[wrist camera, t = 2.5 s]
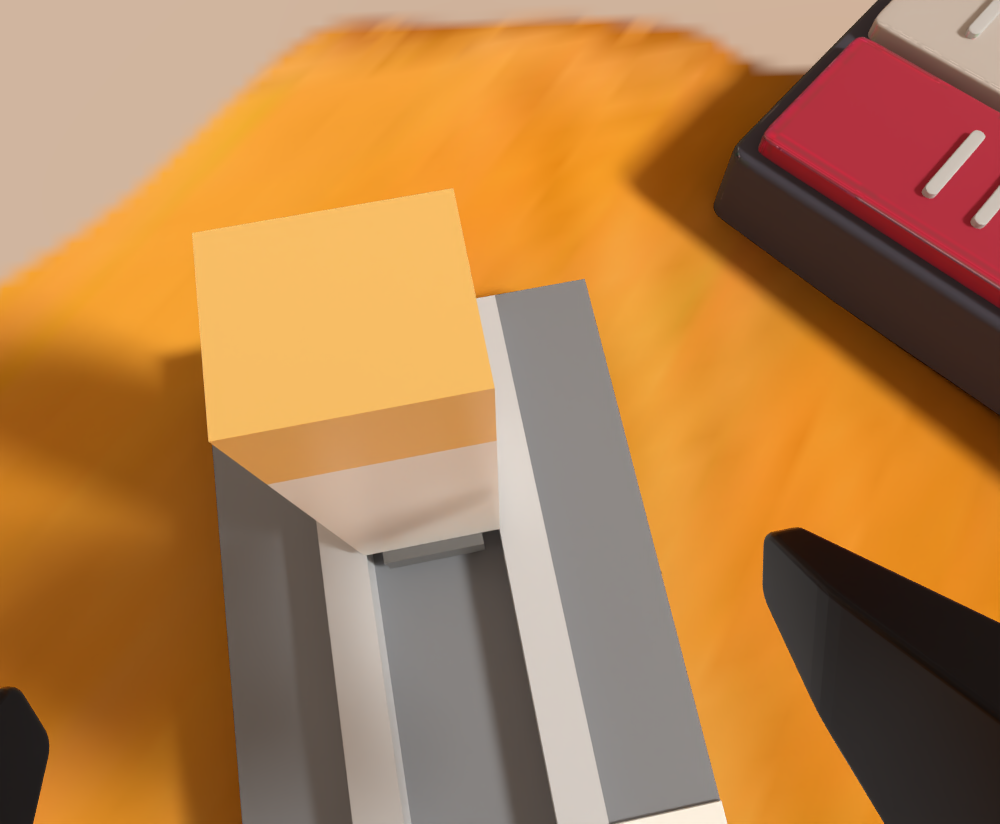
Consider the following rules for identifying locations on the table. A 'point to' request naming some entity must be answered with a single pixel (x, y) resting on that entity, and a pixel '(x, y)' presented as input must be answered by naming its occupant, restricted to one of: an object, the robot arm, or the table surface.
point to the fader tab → (355, 372)
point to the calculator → (891, 182)
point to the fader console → (473, 629)
